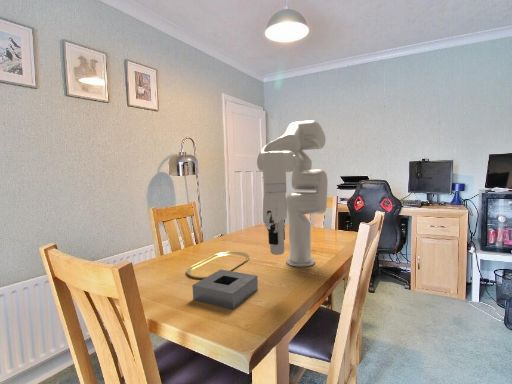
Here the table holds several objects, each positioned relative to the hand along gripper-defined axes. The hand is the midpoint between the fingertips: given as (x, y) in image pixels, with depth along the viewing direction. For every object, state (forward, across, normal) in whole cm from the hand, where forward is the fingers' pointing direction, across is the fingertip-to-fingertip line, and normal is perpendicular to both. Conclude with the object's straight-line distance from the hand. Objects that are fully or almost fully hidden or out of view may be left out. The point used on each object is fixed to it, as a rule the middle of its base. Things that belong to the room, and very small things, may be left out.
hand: (277, 241), depth 98 cm
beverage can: (+4, 0, 0) cm, 4 cm away
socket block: (+18, +9, -16) cm, 26 cm away
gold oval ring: (+19, -15, -36) cm, 43 cm away
